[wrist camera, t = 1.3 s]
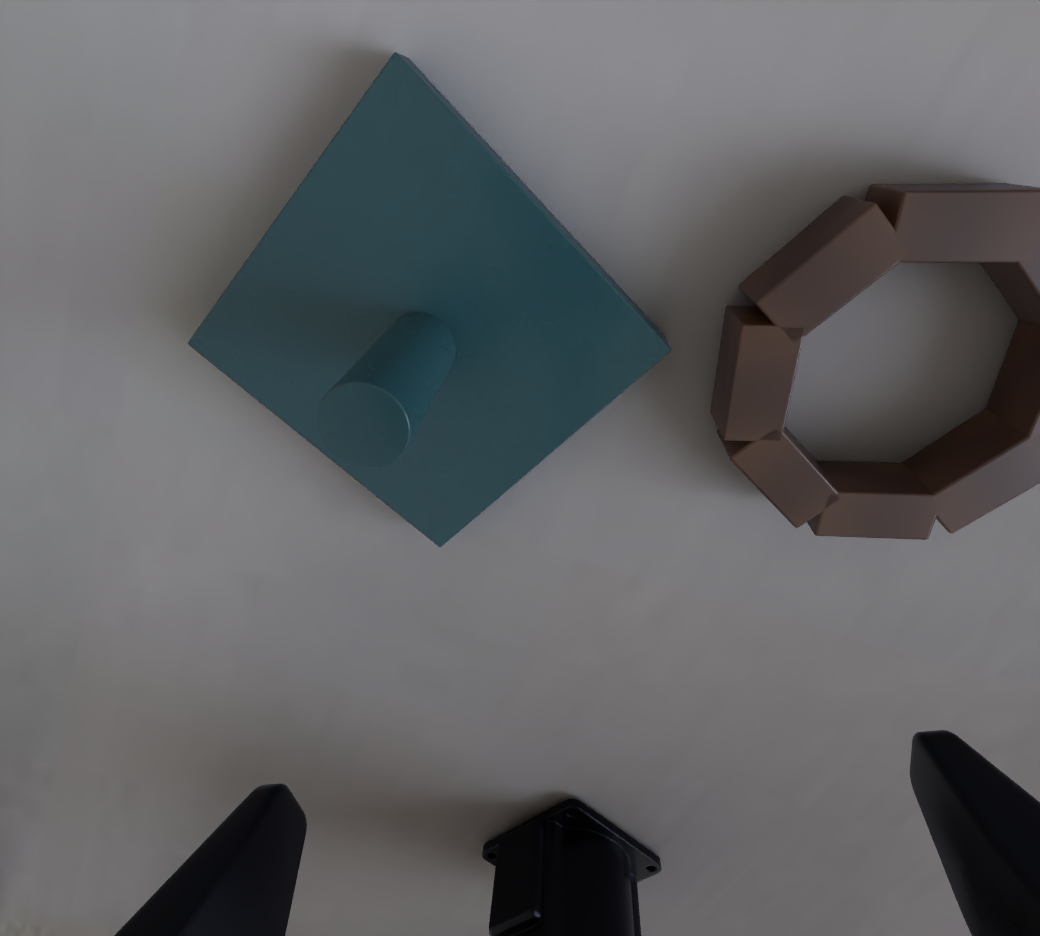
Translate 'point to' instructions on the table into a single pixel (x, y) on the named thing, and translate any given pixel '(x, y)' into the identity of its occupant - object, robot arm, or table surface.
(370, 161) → the post stand
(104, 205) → the table surface
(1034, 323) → the ring
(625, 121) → the table surface
